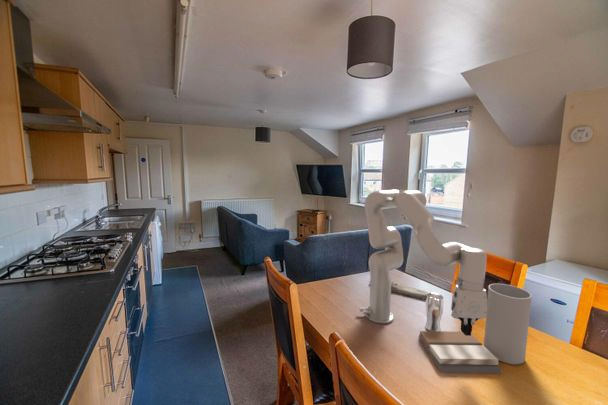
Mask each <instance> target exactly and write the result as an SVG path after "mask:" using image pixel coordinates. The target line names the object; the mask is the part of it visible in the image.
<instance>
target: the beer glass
mask: <svg viewBox="0 0 608 405" xmlns="http://www.w3.org/2000/svg"><path fill="white" fill-rule="evenodd" d="M443 312H444V296H443V295H441V294H440V293H437V292H428V293H427V296H426V300H425V313H426V323H425V329H427V330H426V331H442V329H441V328H442V327H441V319H442V316H443Z"/></svg>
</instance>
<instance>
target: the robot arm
mask: <svg viewBox="0 0 608 405" xmlns="http://www.w3.org/2000/svg"><path fill="white" fill-rule="evenodd" d="M427 201H428V200H427V197H426V195H425V194H424V193H423V192H421V191H420V190H410V189H407V190H406V189H382V190H380V189H379V190H375V191H372V192H370V193H369V194H368V195H367V197H366V198H365V201H364V211H365V212H364V213H365V216H366V220H367V232H368V240H369V243H370V246H371V247H372V248H373V249H377V250H378V249H384V250H380V251H376V252H374V253H372V254H371V255H370V256H369V258H368V267H369V274H370V275H369V276H370V277H369V280H370V281H369V304H367V306H365V307H362V306H359V312H361V313H363V314H364V315H365V316H366V318H367V319H368V321H370V322H373V323H375V324H378V325H379V324H380V325H386V324H390V323H392V322H393V321H394V314H393V312H391V301H392V292H391V281H392V278H391V276H390V272H391V271H393V270H396V269H399V268H400V267H401V266H402V265H403V263H404V251H403V250H404V249H403V244H402V243H403V242H402V235H401V233H400V231H399V230H398V228H396V227H394V226H390V225H389V226H388V225H387V218H386V215H385V213H384V212H383V210H385V209H388V210H389V209H398V211H399V212H400V213H401V215H403V217H404V218H405V219H406V220H407V222H408V223H409V224H410V226H412V227H413V229H414V231H415V236H416V240H417V242H418V245H419V248H420V249H421V250H422V252H423V253H424V254H425V256H426V257H427V259H429V260H430V261H431V262H432V263H433V264H435V265H436V266H438V267H442V268H445V267H449V266H452V265H456V264H459V268H458V276H457V279H456V280H454V284H455V286H454V289H453V290H454V291H453V293H452V299H451V307H450V308H451V309H450V310H451V317H452V318H453V319H457V320H459V321H460V332H463V333H464V334H465V335H466V336H468V335H469V336H471V334H472V331H473V325H475V322H477V321H478V320H482V319H484V318H485V319H486V316H487V300H488V293H487V290H486V289H485V288H484V287H485V280H486V278H485V277H486V269H487V260H488V256H487V255H488V254H487V252H486V251H485V250H484V249H481V248H477V247H470V246H468V245H465V244H463V243H461V242H457V241H450V242H445V243H441V241H440V240H439V239H438V238H437V236H435V234H434V233H435V232H434V231H433V229H432V225H433V223H434V220H435V216H434V215H433V214H432V213H431V211H429V210H428V209H427V207H426V205H427Z"/></svg>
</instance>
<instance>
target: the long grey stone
mask: <svg viewBox="0 0 608 405" xmlns="http://www.w3.org/2000/svg"><path fill="white" fill-rule="evenodd" d="M391 293H395V294H396V293H397V294H401V295H403V296H408V297H412V298H415V299H419V300H425V301H426V296H427V293H429V292H428V291H425V290H421V289H418V288H415V287H411V286H406V285H403V284H401V283H398V282H396V281H392V280H391Z"/></svg>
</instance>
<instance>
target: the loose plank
mask: <svg viewBox="0 0 608 405" xmlns="http://www.w3.org/2000/svg"><path fill="white" fill-rule="evenodd" d="M430 351H431V353H432V354H433V355H434V357H435V358H436V359H437V361H438V362H439V363H440V364H468V365H498V366H499V360H498V358H496V357H495V356H494V355H493V354H492V353H491V352H490V351H489V350H488V349H487V348H486V347H484V344H482V345H430Z"/></svg>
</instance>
